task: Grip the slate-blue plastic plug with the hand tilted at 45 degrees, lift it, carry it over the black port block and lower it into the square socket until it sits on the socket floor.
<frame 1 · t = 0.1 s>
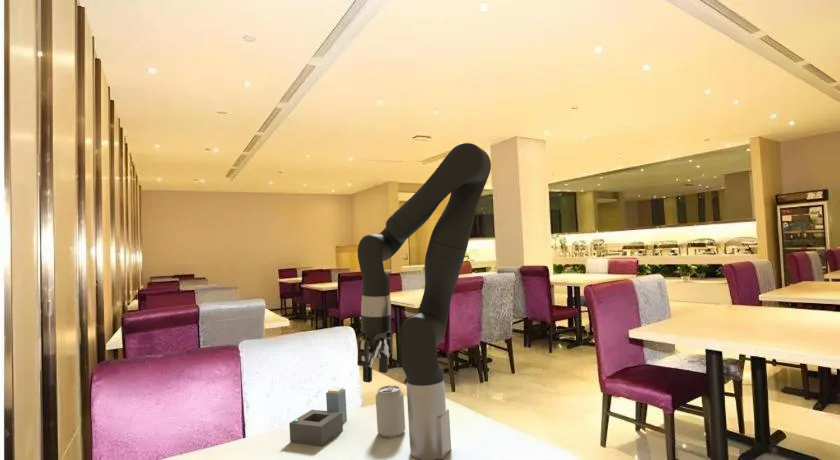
hand: (375, 376, 115), 17 cm above the table, tool pointing down, fingers open, 8 cm apart
plug: (337, 422, 132), on the table
can: (391, 433, 122), on the table
port block: (317, 436, 123), on the table
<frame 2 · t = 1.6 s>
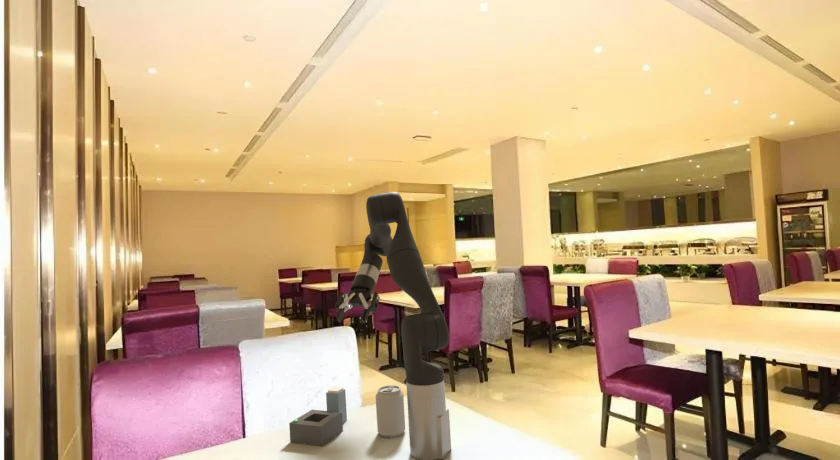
hand: (350, 320, 144), 27 cm above the table, tool tilted 45°, fingers open, 8 cm apart
nothing on the table moved.
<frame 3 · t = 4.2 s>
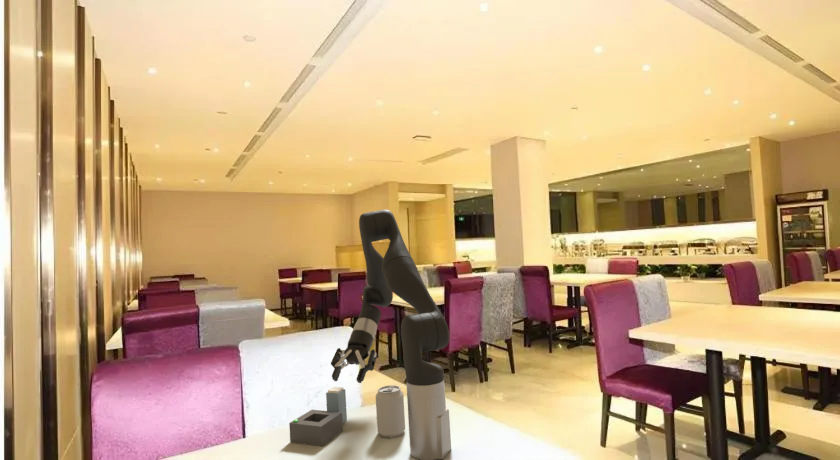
hand: (346, 380, 138), 10 cm above the table, tool tilted 45°, fingers open, 8 cm apart
nothing on the table moved.
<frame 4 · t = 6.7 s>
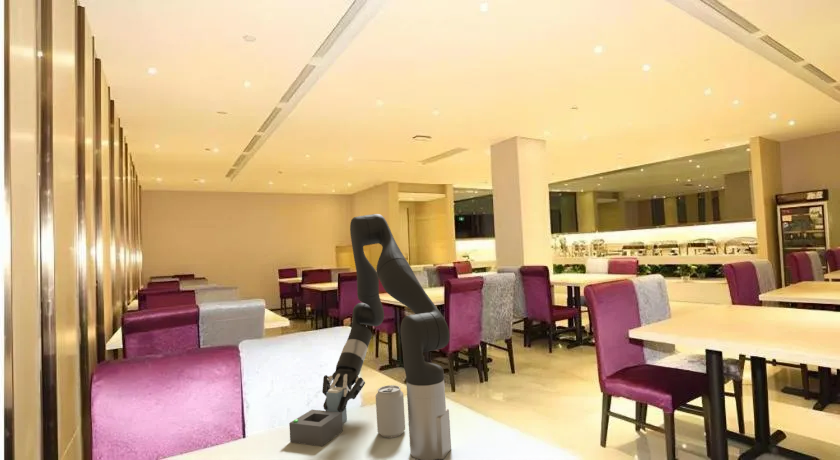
hand: (332, 410, 131), 4 cm above the table, tool tilted 45°, fingers closed on plug, 4 cm apart
plug: (337, 422, 132), on the table, touching gripper
everything else where it was.
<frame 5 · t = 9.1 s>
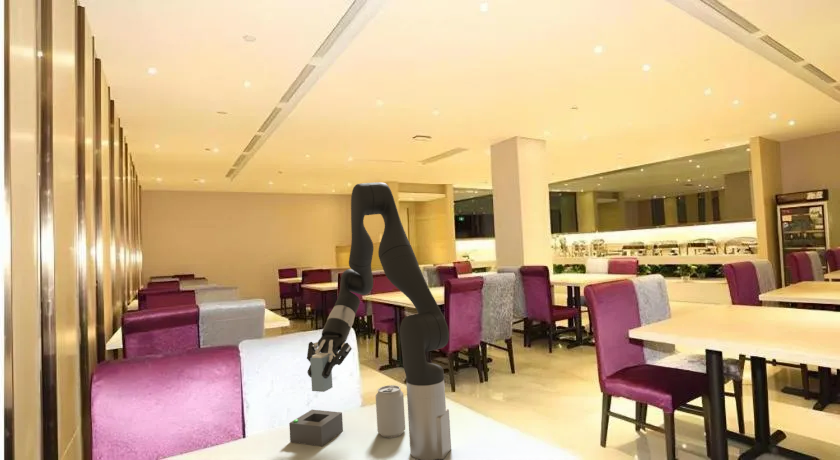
hand: (317, 376, 125), 16 cm above the table, tool tilted 45°, fingers closed on plug, 4 cm apart
plug: (322, 389, 126), point 12 cm above the table, touching gripper
everything else where it was.
when the fingers open (8 cm above the table, at t = 11.8 s): plug drops 2 cm, resting on port block.
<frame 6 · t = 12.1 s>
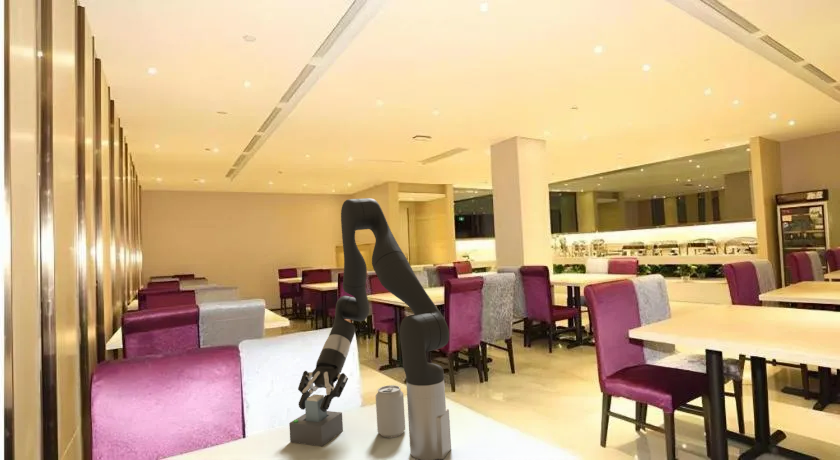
hand: (312, 409, 122), 8 cm above the table, tool tilted 45°, fingers open, 6 cm apart
plug: (317, 432, 123), point 1 cm above the table, touching port block
everything else where it was.
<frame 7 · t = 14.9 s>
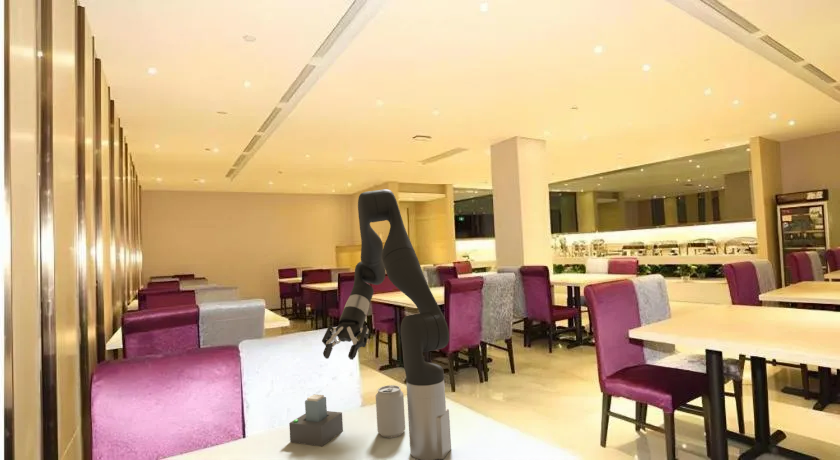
hand: (338, 357, 135), 18 cm above the table, tool tilted 45°, fingers open, 8 cm apart
nothing on the table moved.
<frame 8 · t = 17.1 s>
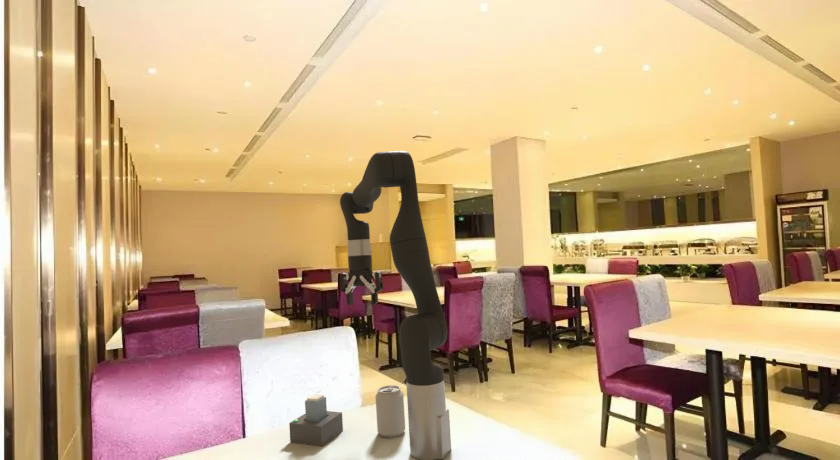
hand: (362, 305, 144), 32 cm above the table, tool pointing down, fingers open, 8 cm apart
nothing on the table moved.
at the end: plug 0.0 cm off-centre on the port block, point 1.0 cm above the port block's base; plug tilted 0°; the gripper is holding nothing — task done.
